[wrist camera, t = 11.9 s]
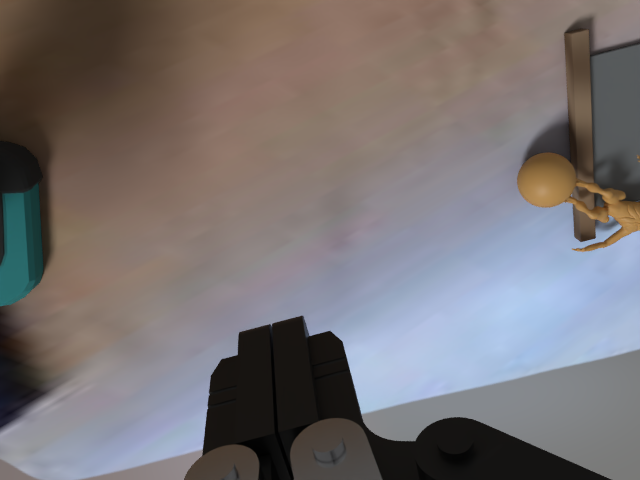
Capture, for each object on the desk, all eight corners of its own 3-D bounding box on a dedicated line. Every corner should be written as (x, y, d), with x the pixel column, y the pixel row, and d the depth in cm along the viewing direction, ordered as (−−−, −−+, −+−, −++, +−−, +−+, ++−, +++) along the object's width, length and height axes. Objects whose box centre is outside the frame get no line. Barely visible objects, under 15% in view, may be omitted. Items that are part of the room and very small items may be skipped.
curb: (564, 33, 40) (571, 33, 39) (581, 28, 40) (588, 29, 39) (574, 237, 46) (580, 242, 45) (588, 233, 46) (595, 238, 45)
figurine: (559, 121, 38) (721, 197, 38) (542, 107, 44) (683, 174, 44) (495, 225, 41) (644, 295, 42) (486, 200, 47) (617, 262, 47)
